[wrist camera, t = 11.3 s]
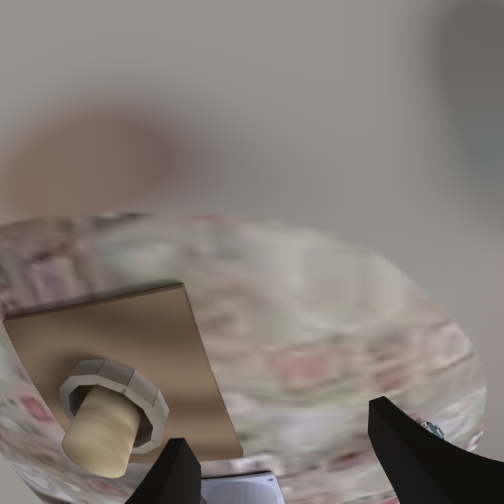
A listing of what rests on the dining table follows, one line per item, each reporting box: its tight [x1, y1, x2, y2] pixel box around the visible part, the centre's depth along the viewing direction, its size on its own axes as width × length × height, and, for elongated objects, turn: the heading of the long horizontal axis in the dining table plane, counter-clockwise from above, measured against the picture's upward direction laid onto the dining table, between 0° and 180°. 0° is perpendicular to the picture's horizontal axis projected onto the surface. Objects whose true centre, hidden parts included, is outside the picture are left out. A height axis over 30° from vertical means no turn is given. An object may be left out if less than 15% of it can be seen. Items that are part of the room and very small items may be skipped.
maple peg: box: [62, 384, 144, 478], centre depth 17 cm, size 4×4×6 cm
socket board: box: [2, 283, 243, 463], centre depth 19 cm, size 16×16×3 cm
